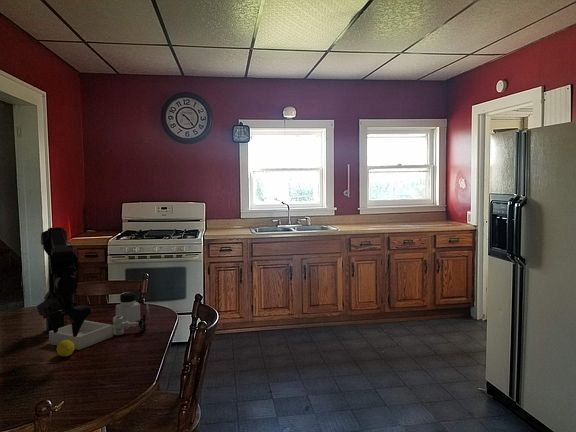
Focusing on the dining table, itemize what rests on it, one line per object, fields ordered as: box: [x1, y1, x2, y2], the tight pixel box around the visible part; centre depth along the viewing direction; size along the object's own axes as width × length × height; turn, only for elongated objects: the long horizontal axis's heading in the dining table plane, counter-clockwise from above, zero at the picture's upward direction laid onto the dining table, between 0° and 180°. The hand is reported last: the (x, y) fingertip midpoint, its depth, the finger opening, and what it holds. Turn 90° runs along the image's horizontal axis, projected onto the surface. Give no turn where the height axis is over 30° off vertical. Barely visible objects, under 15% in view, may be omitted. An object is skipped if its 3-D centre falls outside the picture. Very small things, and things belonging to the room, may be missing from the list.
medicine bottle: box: [115, 291, 142, 323], centre depth 184 cm, size 7×7×12 cm
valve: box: [112, 314, 147, 336], centre depth 169 cm, size 7×7×12 cm
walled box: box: [48, 319, 114, 351], centre depth 160 cm, size 15×15×4 cm
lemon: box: [56, 340, 75, 358], centre depth 145 cm, size 7×5×5 cm
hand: (65, 334), depth 145 cm, fingers open, 9 cm apart
